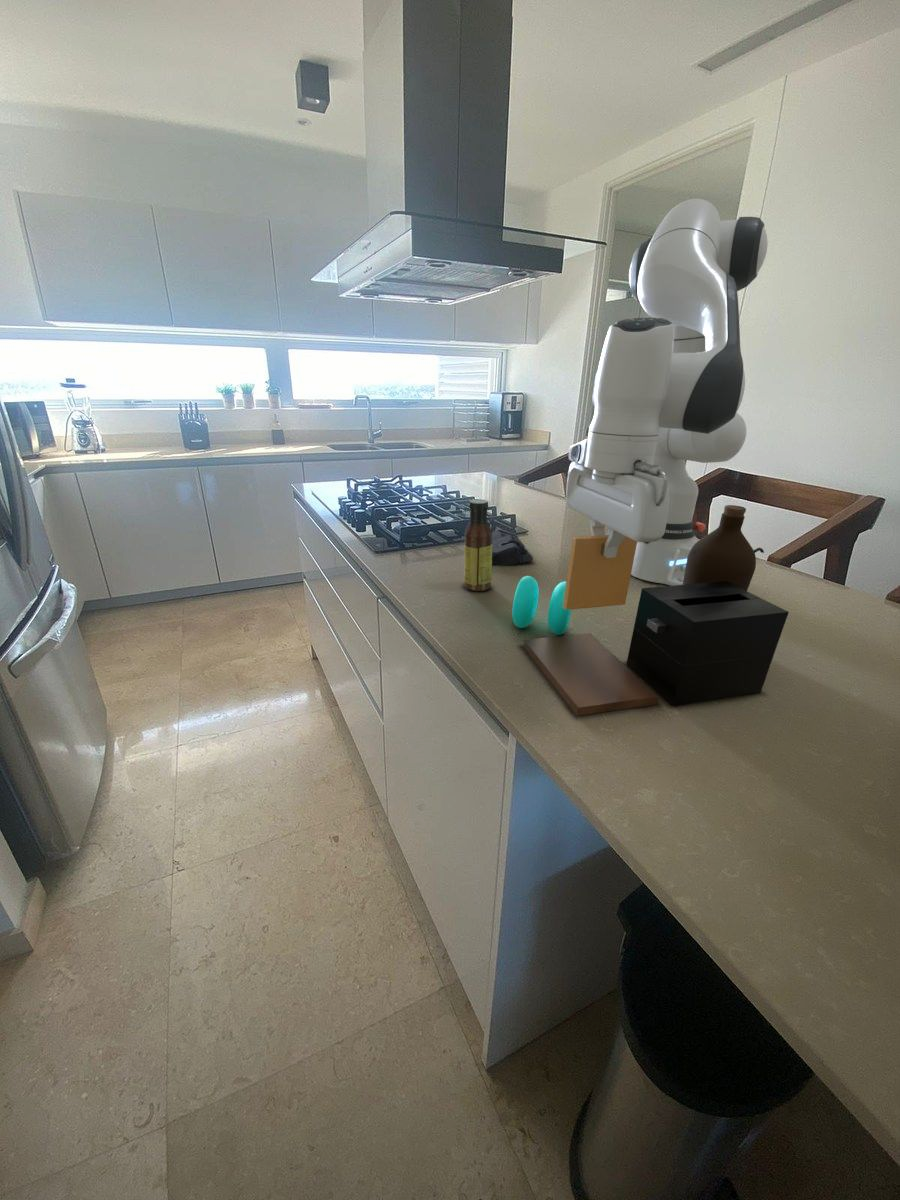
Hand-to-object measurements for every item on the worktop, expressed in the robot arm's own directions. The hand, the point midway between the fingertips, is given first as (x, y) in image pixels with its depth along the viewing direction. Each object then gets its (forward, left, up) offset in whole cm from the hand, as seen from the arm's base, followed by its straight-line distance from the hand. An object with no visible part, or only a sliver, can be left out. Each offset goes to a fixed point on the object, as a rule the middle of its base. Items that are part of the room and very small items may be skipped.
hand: (603, 553), depth 71 cm
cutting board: (0, 0, -21) cm, 21 cm away
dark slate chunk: (-8, -61, -21) cm, 65 cm away
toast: (0, 0, -8) cm, 8 cm away
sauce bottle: (+6, -38, -21) cm, 44 cm away
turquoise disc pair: (0, -16, -21) cm, 26 cm away
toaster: (-17, +5, -21) cm, 27 cm away
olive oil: (-28, -6, -21) cm, 35 cm away
